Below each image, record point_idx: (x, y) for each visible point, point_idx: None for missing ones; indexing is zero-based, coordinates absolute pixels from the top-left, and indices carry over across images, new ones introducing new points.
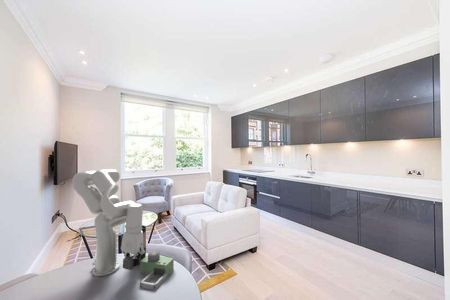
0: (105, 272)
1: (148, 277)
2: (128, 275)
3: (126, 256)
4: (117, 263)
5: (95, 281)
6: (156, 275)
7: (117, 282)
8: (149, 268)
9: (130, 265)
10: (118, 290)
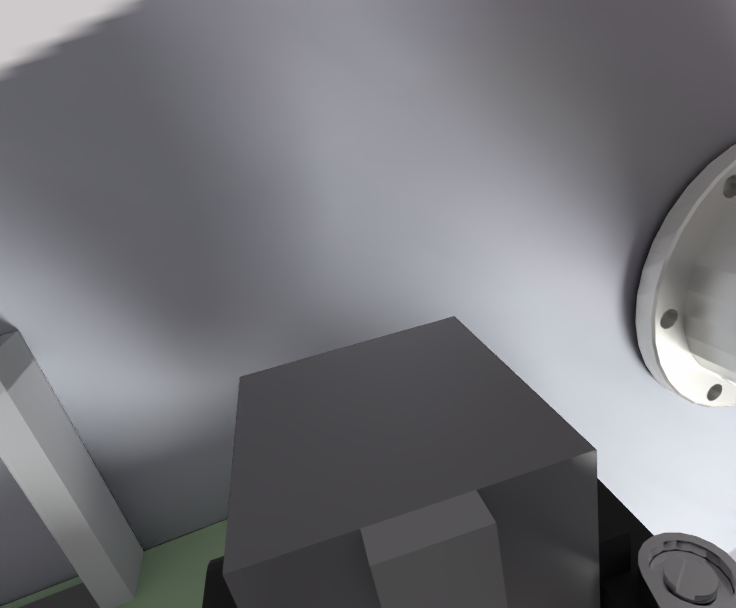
0: (714, 218)
1: (45, 501)
2: None
3: (620, 571)
4: (717, 392)
5: (696, 67)
6: (71, 579)
7: (423, 207)
8: (186, 604)
9: (236, 452)
10: (233, 102)
